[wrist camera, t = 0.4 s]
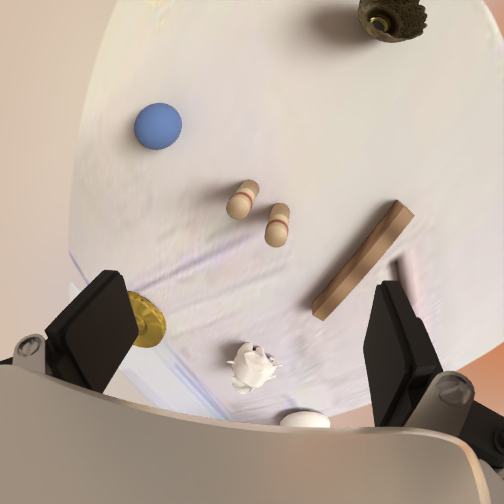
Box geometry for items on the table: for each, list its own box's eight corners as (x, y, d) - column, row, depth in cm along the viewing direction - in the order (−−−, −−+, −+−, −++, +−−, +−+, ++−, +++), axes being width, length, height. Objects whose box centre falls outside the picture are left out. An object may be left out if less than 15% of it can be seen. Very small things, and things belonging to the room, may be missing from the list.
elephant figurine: (273, 374, 54) (269, 403, 47) (225, 358, 53) (216, 387, 47) (289, 349, 50) (287, 380, 44) (237, 331, 50) (229, 361, 44)
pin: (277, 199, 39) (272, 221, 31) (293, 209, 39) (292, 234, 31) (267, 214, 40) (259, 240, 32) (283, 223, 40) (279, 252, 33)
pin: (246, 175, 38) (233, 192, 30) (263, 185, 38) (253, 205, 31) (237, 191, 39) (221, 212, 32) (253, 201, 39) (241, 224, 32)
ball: (159, 96, 34) (137, 95, 29) (196, 114, 35) (179, 116, 30) (141, 134, 37) (118, 140, 32) (176, 153, 38) (156, 161, 33)
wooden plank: (397, 199, 36) (404, 206, 33) (407, 208, 36) (414, 215, 34) (312, 303, 45) (312, 315, 42) (322, 309, 45) (323, 321, 43)
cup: (356, 53, 29) (371, 38, 22) (342, 3, 26) (352, -21, 19) (410, 51, 27) (435, 40, 20) (396, 3, 24) (416, -18, 17)
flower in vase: (327, 430, 61) (324, 522, 39) (280, 430, 63) (268, 521, 41) (333, 401, 56) (334, 509, 33) (280, 401, 57) (265, 508, 35)
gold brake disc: (103, 311, 54) (97, 317, 52) (126, 278, 49) (120, 284, 47) (148, 348, 56) (144, 356, 55) (178, 321, 51) (174, 329, 50)
